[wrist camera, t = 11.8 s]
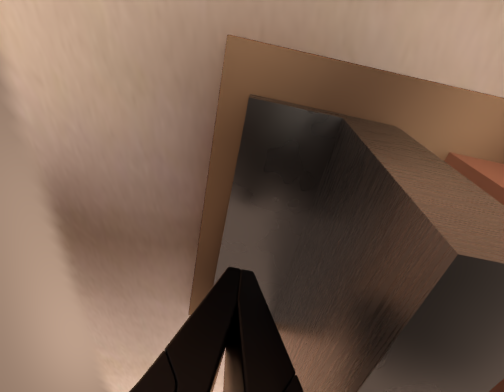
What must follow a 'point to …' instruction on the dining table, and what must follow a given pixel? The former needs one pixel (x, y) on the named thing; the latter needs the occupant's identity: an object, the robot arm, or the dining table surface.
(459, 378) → the bookend
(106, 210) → the dining table surface
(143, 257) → the dining table surface
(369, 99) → the shelf
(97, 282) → the dining table surface
